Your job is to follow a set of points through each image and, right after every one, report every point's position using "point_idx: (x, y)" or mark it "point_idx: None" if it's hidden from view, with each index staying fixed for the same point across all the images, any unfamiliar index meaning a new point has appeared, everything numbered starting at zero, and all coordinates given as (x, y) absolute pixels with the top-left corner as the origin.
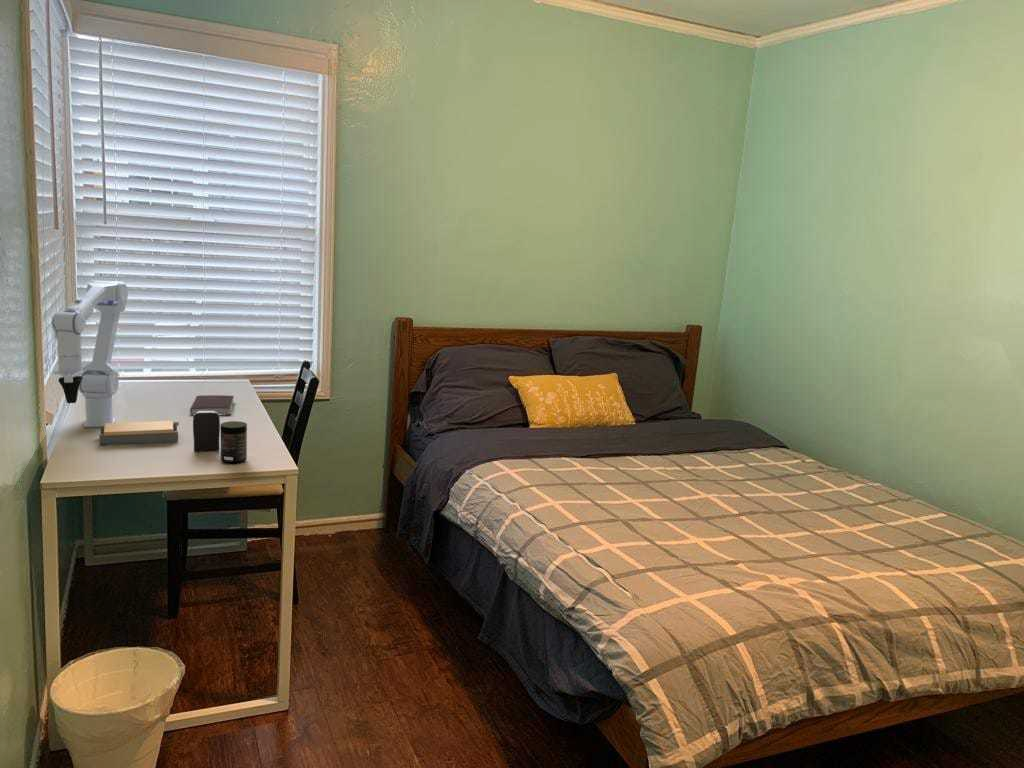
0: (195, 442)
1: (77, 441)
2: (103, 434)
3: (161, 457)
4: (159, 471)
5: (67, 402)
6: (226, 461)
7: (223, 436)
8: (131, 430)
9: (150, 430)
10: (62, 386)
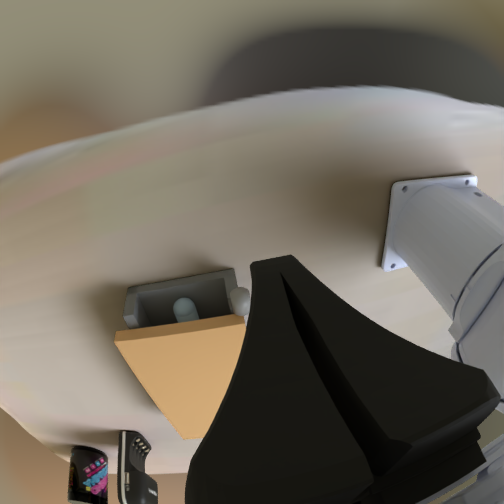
0: (118, 449)
1: (182, 202)
2: (136, 324)
3: (70, 400)
4: (2, 395)
5: (252, 266)
6: (71, 451)
7: (69, 485)
8: (153, 392)
9: (166, 416)
10: (220, 410)
